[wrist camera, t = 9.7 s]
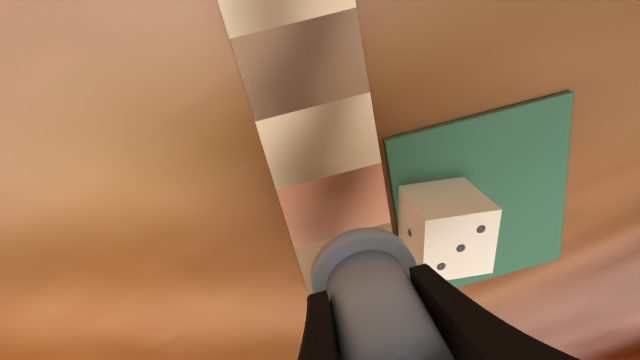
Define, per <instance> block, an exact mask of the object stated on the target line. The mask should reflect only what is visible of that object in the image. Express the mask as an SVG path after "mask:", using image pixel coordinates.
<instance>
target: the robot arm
mask: <svg viewBox="0 0 640 360" xmlns="http://www.w3.org/2000/svg"><path fill="white" fill-rule="evenodd" d="M409 272H410V280H411V282H412V283H413V285H414V287H415V289H416V291H417V292H418V294H419V296H420V298H421V300H422V301H423V303H424V305H425V307H426V309H427V310H428V312H429V314H430V316H431V318H432V319H433V321H434V323H435V325H436V327H437V328H438V330H439V332H440V334H441V336H442V337H443V339H444V341H445V343H446V345H447V346H448V348H449V350H450V352H451V354H452V355H453V358H454V360H580V359H577V358H575V357H573V356H570V355H568V354H566V353H564V352H562V351H560V350H557V349H555V348H553V347H551V346H549V345H547V344H545V343H543V342H540V341H538V340H537V339H535V338H533V337H531V336H529V335H527V334H525V333H523V332H522V331H520V330H518V329H516V328H515V327H513V326H511V325H509V324H508V323H506V322H504V321H503V320H501V319H500V318H498V317H496V316H495V315H493V314H492V313H490V312H489V311H487V310H486V309H484V308H483V307H481V306H480V305H479V304H477V303H476V302H474V301H473V300H472V299H470V298H469V297H468V296H466V295H465V294H463V293H462V292H461V291H459V290H458V289H457V288H456V287H454V286H453V285H452V284H450V283H449V282H448V281H447V280H446V279H444V278H443V277H442V276H441V275H439V274H438V273H437V272H436V271H435V270H434V269H432V268H431V267H430V266H429V265H427V264H426V263H425V264H421V265H417V266H414V267H410V268H409ZM298 360H342V357H341V352H340V348H339V344H338V339H337V334H336V329H335V323H334V319H333V314H332V310H331V306H330V302H329V298H328V294H327V290H324V291H320V292H317V293H313V294H310V295H309V296H308V297H307V315H306V322H305V329H304V334H303V339H302V344H301V349H300V353H299V356H298Z"/></svg>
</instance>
